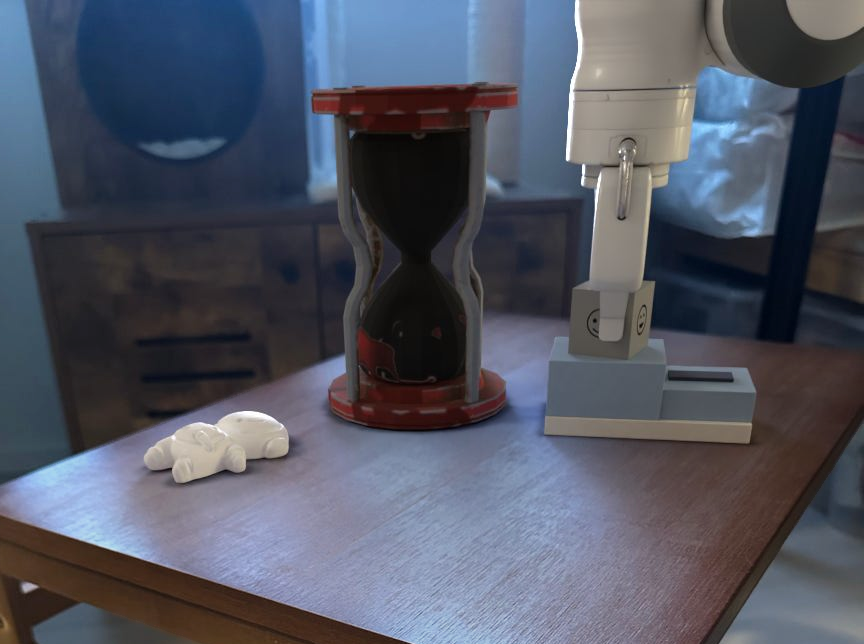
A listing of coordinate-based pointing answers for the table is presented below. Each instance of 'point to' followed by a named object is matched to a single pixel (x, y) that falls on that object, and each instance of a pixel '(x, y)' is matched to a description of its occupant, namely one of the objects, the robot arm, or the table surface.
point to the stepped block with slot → (646, 397)
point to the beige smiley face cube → (588, 321)
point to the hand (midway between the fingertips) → (610, 328)
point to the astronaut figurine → (219, 446)
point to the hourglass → (413, 251)
